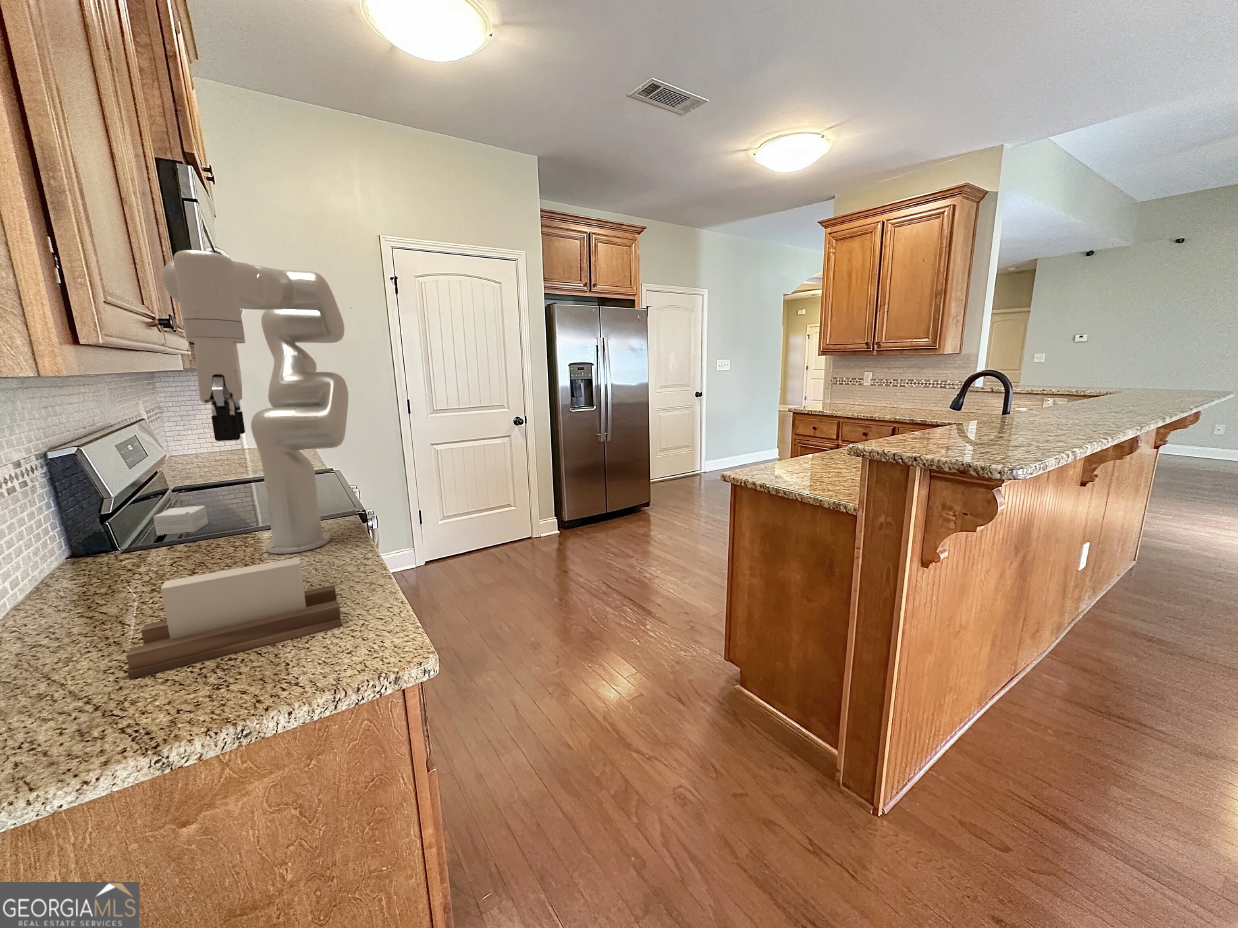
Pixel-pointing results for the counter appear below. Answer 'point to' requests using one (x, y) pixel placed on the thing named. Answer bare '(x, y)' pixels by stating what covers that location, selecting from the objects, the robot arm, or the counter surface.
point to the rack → (231, 635)
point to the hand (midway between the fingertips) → (231, 437)
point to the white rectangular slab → (232, 597)
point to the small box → (180, 520)
